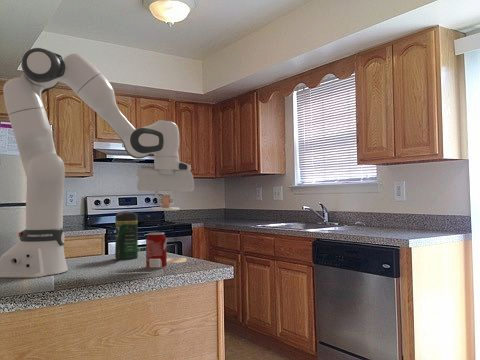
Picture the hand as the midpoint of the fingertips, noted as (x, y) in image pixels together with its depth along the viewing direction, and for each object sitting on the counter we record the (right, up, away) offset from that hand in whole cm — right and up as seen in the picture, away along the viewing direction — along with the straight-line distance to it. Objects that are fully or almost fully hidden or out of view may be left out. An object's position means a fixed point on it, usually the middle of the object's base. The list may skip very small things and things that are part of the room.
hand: (165, 203), depth 153 cm
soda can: (-1, -22, -9) cm, 24 cm away
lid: (0, -2, 0) cm, 2 cm away
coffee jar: (-17, -22, +12) cm, 30 cm away
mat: (+2, -22, +4) cm, 22 cm away
